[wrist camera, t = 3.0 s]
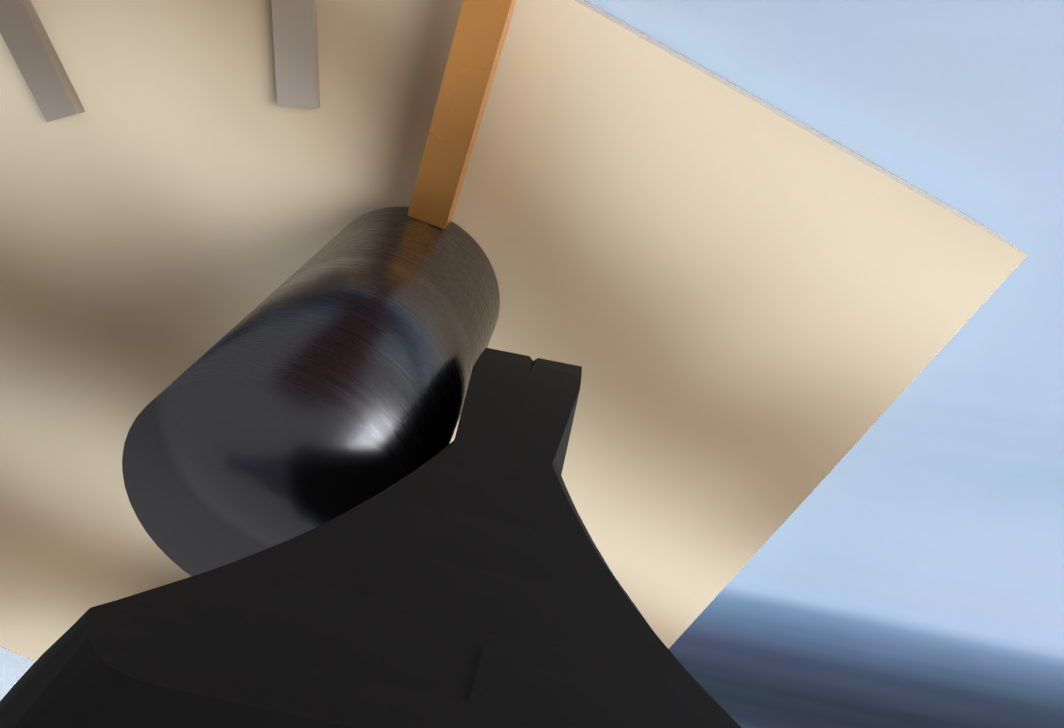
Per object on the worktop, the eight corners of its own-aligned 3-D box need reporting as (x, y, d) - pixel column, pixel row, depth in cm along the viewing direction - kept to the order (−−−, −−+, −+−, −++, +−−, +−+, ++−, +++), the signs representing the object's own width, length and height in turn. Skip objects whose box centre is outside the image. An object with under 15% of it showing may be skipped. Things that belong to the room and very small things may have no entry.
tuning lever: (385, 723, 18) (292, 1002, 13) (211, 665, 18) (51, 927, 13) (657, 25, 10) (676, 81, 5) (345, -96, 10) (58, -159, 5)
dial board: (493, 811, 22) (486, 854, 21) (-226, 510, 19) (-276, 542, 18) (998, 234, 12) (1033, 260, 11) (-305, -502, 10) (-419, -558, 9)
